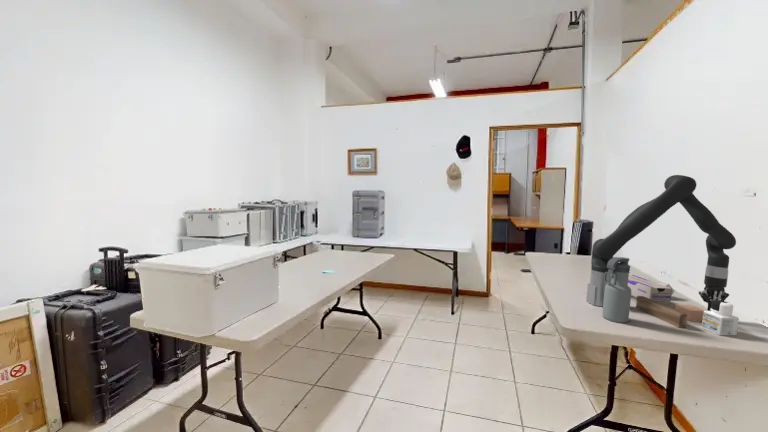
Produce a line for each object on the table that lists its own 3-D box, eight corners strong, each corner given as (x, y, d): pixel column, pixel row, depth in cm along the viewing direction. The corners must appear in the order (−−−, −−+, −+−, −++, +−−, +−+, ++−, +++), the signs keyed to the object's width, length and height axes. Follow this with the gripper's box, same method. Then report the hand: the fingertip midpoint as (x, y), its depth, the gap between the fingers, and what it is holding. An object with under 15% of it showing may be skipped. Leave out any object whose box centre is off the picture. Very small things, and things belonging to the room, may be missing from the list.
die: (670, 297, 192) (659, 281, 195) (681, 294, 184) (669, 278, 188) (657, 302, 191) (646, 286, 195) (668, 299, 183) (656, 283, 187)
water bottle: (613, 323, 148) (620, 260, 146) (596, 315, 158) (602, 255, 155) (633, 323, 150) (640, 260, 147) (615, 314, 160) (621, 255, 157)
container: (700, 327, 148) (704, 298, 147) (717, 327, 148) (721, 298, 147) (719, 335, 140) (724, 305, 139) (736, 335, 141) (741, 305, 140)
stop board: (678, 327, 147) (680, 314, 146) (635, 307, 171) (637, 295, 170) (685, 327, 147) (687, 314, 146) (641, 307, 171) (643, 296, 170)
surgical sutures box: (613, 292, 195) (615, 274, 194) (632, 293, 196) (634, 275, 195) (648, 308, 170) (651, 287, 169) (669, 309, 171) (672, 288, 170)
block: (688, 321, 155) (689, 310, 155) (674, 314, 163) (675, 304, 163) (706, 322, 155) (707, 311, 155) (691, 315, 163) (692, 305, 163)
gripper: (710, 277, 154) (705, 314, 155) (738, 278, 154) (733, 315, 156) (694, 273, 161) (690, 308, 163) (721, 273, 162) (717, 309, 163)
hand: (711, 311), depth 159 cm, fingers closed
